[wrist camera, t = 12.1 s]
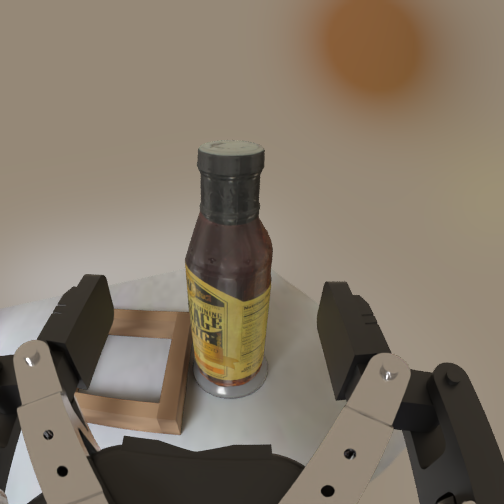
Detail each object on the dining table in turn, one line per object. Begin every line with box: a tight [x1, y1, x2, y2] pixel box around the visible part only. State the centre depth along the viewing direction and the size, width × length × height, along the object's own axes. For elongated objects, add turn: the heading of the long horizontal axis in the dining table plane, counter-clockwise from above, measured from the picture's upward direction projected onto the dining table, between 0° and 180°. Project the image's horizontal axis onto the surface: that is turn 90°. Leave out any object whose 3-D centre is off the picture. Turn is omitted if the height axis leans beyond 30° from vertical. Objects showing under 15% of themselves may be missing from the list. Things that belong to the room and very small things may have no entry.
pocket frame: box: [74, 309, 193, 435], centre depth 27 cm, size 12×13×2 cm
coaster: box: [193, 355, 268, 399], centre depth 29 cm, size 7×7×1 cm
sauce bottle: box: [185, 140, 273, 387], centre depth 24 cm, size 6×6×20 cm
